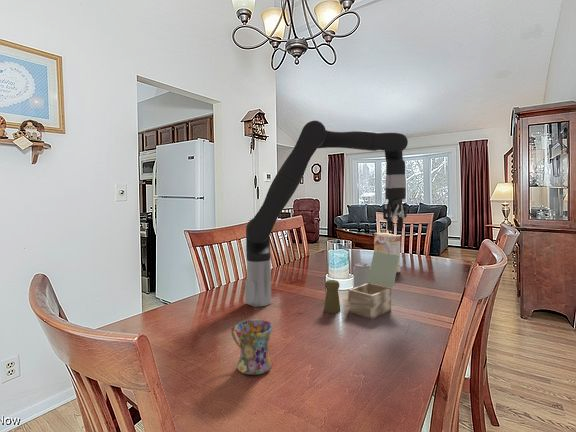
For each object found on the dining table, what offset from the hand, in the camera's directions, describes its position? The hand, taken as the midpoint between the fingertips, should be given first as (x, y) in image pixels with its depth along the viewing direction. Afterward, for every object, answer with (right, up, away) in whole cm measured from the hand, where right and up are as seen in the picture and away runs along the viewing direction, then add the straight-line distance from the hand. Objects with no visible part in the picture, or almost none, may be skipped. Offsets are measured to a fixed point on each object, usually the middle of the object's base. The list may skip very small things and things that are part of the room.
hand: (395, 229), depth 130 cm
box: (-12, -29, -9) cm, 33 cm away
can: (-10, -27, +13) cm, 32 cm away
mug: (-51, -32, -47) cm, 76 cm away
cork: (-26, -29, -8) cm, 40 cm away
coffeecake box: (+12, -24, +53) cm, 59 cm away
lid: (-6, -15, -5) cm, 17 cm away
